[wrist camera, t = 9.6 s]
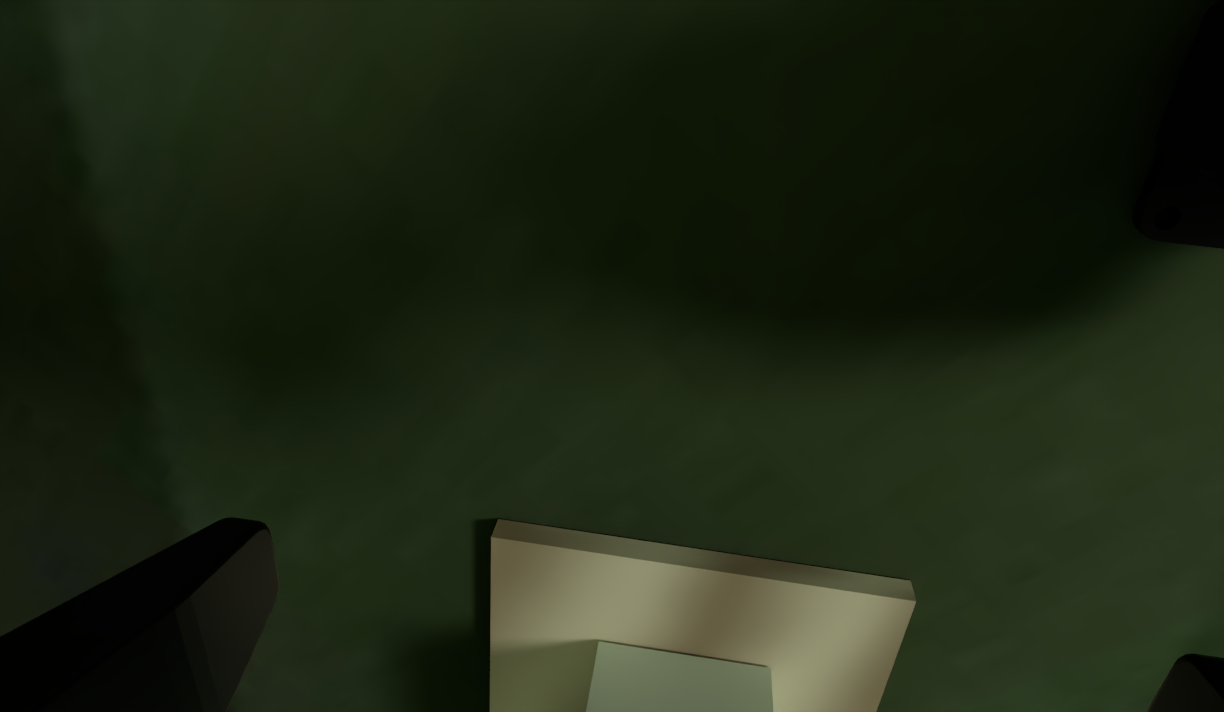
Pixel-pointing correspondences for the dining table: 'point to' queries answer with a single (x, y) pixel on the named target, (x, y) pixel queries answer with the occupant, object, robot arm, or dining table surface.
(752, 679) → the pale grey block
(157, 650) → the robot arm
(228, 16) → the dining table surface
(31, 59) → the dining table surface
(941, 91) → the dining table surface
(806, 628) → the peg on square board
